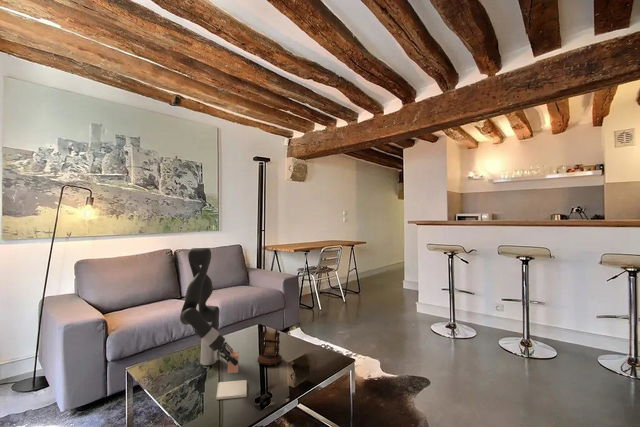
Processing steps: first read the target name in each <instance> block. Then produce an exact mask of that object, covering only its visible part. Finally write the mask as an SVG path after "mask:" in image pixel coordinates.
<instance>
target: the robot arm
mask: <svg viewBox="0 0 640 427" xmlns="http://www.w3.org/2000/svg"><path fill="white" fill-rule="evenodd" d="M187 257H188V258H187V260H188V264H189V268H190V269H191V272H192V277H193V278H192V279H191V281H190V283H189V284H188V286H187V289H186V294H185V299H184V303H183V305H182V308H181V312H180V315H179V318H180V323H181V324H183V325H186V326H188V325H190V326H191V327H192V328H193V332H194V333H195V335H196V336H198V337H199V338H200V340H201V342H200V343H201V344H200V361H199V362H200V365H202V366H211V365H214V364H216V363H217V358H218V352H219V356H220V357H221V358H222V359H224V360H225V362H227V363H228V362H229V361H230V362H231V363H232V364H233V365H235V366H236V365H237V364H238V365H239V360H238V361H237V360H236V359H235V358H234V357H233V356H232V355H231V352H235V351H234V349H233V348H232V347H231V345H229V343H228V342H227V341H226V339H225V337H224V336H223V335H222V334H221V333H220V332H219V322H220V307H219V306H218V305H217V306H216V305H206V304H207V301H208V300H209V299H210V297H211V295H212V294H213V292H214V288H213V282H212V279H211V278H210V276H209V275H208V270H209V267H210V264H211V260H212V250H211V249H210V248H208V247H205V248H203V247H193V248H190V249H189V250H188V255H187ZM197 307H198V309H197ZM210 323H211V324H210ZM228 357H229V358H228Z"/></svg>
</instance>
